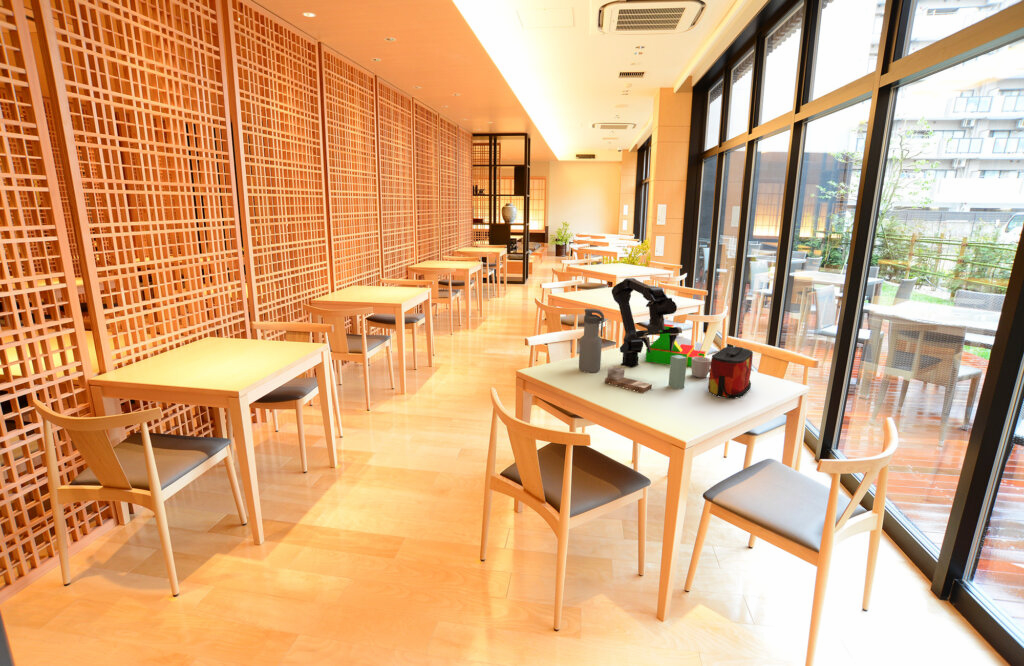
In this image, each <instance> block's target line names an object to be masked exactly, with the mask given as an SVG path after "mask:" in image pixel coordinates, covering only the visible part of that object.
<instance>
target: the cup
mask: <svg viewBox="0 0 1024 666" xmlns="http://www.w3.org/2000/svg"><path fill="white" fill-rule="evenodd" d="M710 366H711V359H710V358H708V357H706V356H705V357H692V367H691V375H692V376H693V377H695V378H700V379H702V378H706V377H707V376H708V374H709V373H710Z"/></svg>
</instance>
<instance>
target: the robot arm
mask: <svg viewBox="0 0 1024 666" xmlns="http://www.w3.org/2000/svg"><path fill="white" fill-rule="evenodd" d="M633 291H635V292H637V293H639V294H641V295H642V297H643V298H644V299H645V300H647V303H646V305H645V308H648V311H649V323H648V324H647V325H646V330H645V329H643V330H637V329H636V325H635V321H634V317H633V313H632V308H631V304H630V300H631V296H632V292H633ZM611 294H612V298H613V300H614V302H616V304H617V305H618V308H619V311H620V315H621V320H622V324H623V325H622V326H623V328H624V333H625V334H624V336H623V343H622V344H621V346H620V347H619V352H620V353H622V360H621V361H622V362H621V363H620V365H621V366H624V367H628V368H634V367H637V366H639V365H640V364H639V354H640V353H642V350H643V348H644V345H645V347H646V349H647V350H648V352H649V353H651V348H650V345H651V341H650V337H648V336H653V335H660V334H666V333H670V334H671V335H669V339H670V351H672V349H673V345H674V342H675V341H676V338H677V336H680V334H683V331H682V330H683V329H682V328H681V326H673V327H671V328H669V329H665V325H664V324H665V315H666V316H667V315H673V314H675V313H676V311H677V309H678V305H677V303H676V302H675V301H674V300H673V298H672V297H668V296H667V294H666V293H665V291H664V289H663V288H662V287H661V286H653V285H648V284H646V283H644V282H642V281H639V280H638V279H636V278H635V277H631V278H629V277H627V278H624V279H623V281H621V282H619V283H617V284H615V285H614V286H613V288H611ZM660 330H661V331H663V332H660Z"/></svg>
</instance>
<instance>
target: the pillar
mask: <svg viewBox="0 0 1024 666" xmlns="http://www.w3.org/2000/svg"><path fill="white" fill-rule="evenodd" d="M686 364H687V358H686V357H684V356H681V355H675V356H671V361H670V365H669V374H668V386H667V387H670V388H672V389H673V390H674V389H675V390H678V389H685V382H686V373H687V372H686V371H687V367H686Z"/></svg>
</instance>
